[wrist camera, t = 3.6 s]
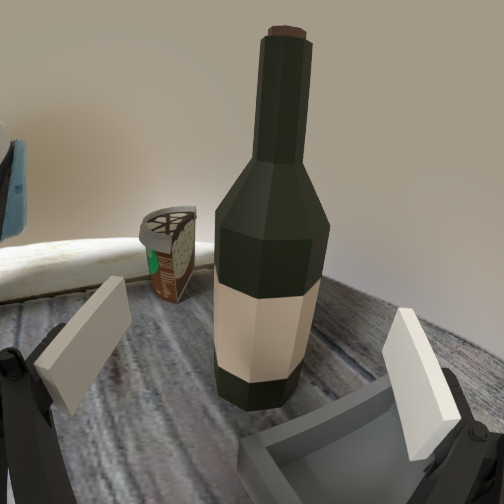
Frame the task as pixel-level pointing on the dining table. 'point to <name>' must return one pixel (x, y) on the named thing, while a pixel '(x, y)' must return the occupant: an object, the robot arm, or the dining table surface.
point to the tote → (334, 454)
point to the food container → (170, 249)
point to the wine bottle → (269, 239)
